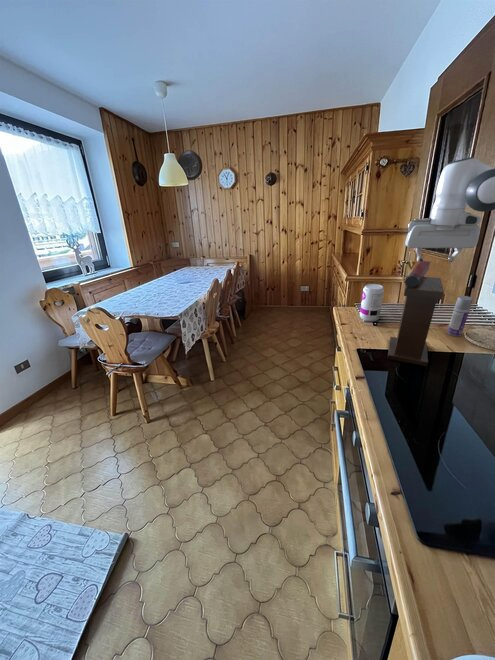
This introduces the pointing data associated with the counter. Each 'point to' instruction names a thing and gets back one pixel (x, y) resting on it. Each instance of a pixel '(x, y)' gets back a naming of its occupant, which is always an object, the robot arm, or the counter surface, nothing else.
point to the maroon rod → (417, 274)
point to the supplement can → (371, 302)
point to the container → (459, 315)
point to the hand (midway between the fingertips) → (435, 261)
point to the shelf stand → (416, 322)
